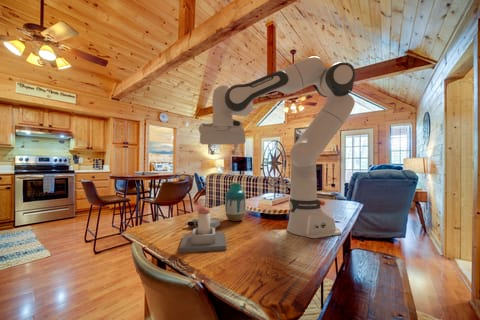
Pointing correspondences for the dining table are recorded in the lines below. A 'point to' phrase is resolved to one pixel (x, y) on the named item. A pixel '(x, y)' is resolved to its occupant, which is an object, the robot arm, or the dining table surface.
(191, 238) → the jig
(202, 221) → the pink-topped post
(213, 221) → the robot toy
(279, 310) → the dining table surface
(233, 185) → the vase
